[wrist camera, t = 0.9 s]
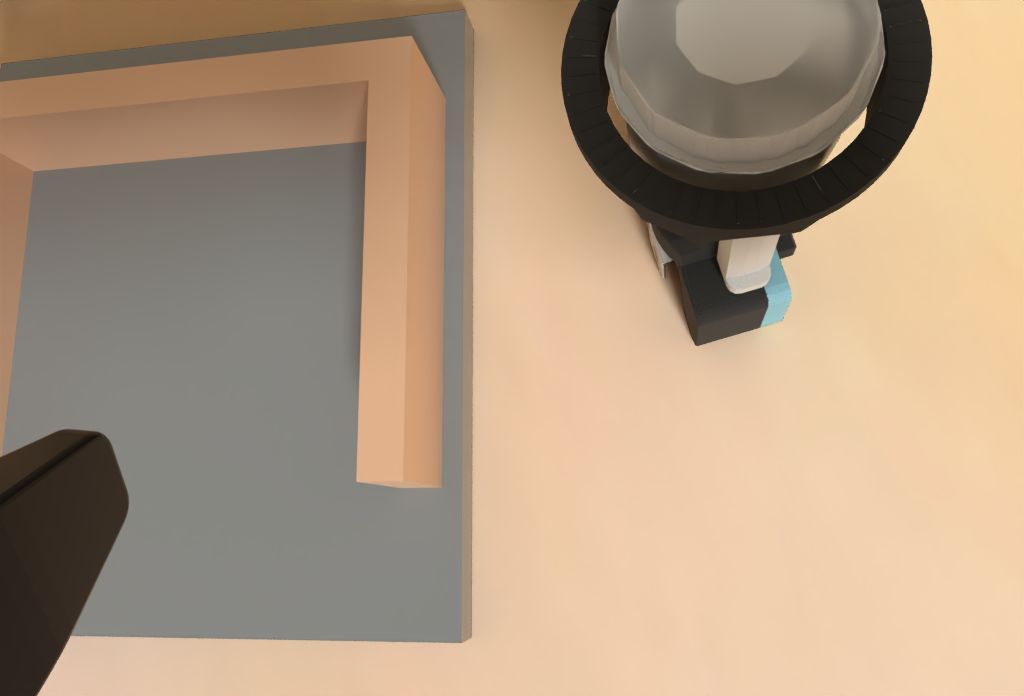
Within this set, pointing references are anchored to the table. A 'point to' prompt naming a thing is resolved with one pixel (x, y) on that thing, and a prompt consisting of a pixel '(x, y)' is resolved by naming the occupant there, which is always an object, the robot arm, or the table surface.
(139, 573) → the end holder
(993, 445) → the table surface
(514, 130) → the table surface
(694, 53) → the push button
